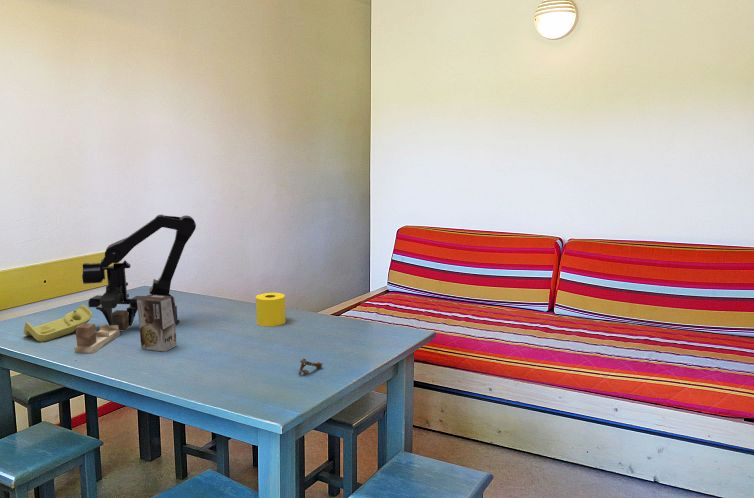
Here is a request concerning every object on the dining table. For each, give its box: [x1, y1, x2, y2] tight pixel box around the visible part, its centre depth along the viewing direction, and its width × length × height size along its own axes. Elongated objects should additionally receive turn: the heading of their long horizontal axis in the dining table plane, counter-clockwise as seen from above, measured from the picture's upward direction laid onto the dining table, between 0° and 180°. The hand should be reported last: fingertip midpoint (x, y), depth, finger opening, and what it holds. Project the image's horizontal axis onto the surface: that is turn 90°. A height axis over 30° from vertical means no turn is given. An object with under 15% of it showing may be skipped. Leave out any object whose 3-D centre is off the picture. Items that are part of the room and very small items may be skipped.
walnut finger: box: [111, 309, 130, 331], centre depth 215 cm, size 4×5×6 cm
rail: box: [73, 323, 121, 354], centre depth 199 cm, size 6×17×8 cm, turn 176°
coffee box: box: [137, 294, 178, 352], centre depth 195 cm, size 9×6×16 cm
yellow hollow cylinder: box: [255, 292, 286, 327], centre depth 221 cm, size 10×10×9 cm
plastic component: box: [23, 304, 93, 343], centre depth 212 cm, size 20×7×10 cm
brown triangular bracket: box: [297, 358, 324, 376], centre depth 175 cm, size 2×8×4 cm, turn 139°
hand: (120, 325), depth 215 cm, fingers open, 7 cm apart
